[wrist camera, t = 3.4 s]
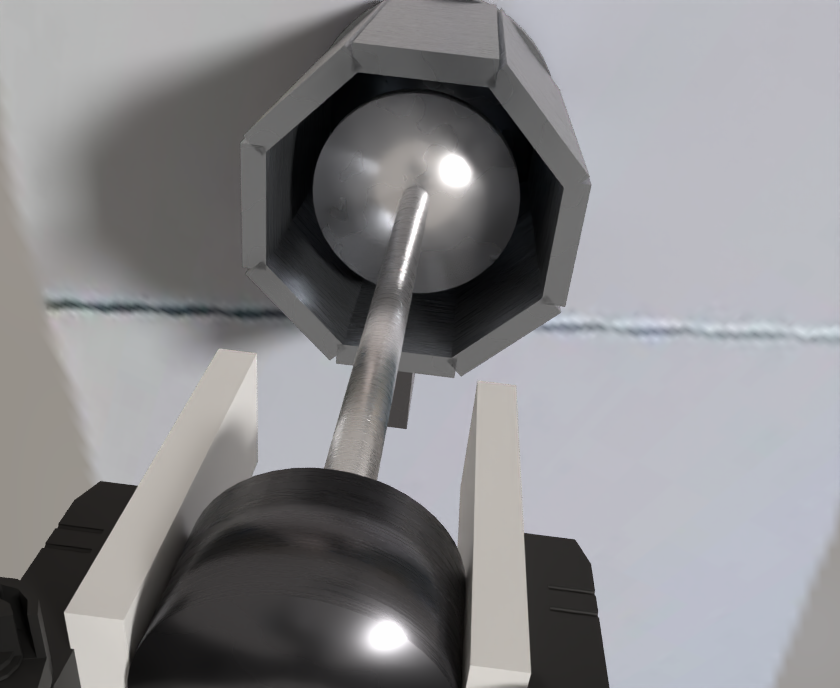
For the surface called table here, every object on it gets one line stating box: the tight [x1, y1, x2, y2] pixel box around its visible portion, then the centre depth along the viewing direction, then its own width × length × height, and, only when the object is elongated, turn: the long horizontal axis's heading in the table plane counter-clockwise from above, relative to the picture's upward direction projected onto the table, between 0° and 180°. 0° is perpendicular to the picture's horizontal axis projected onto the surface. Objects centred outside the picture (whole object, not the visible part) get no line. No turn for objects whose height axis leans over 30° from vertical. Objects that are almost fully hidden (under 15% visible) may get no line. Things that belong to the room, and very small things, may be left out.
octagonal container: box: [240, 0, 591, 429], centre depth 32 cm, size 14×11×13 cm
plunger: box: [127, 88, 520, 688], centre depth 19 cm, size 7×7×21 cm
